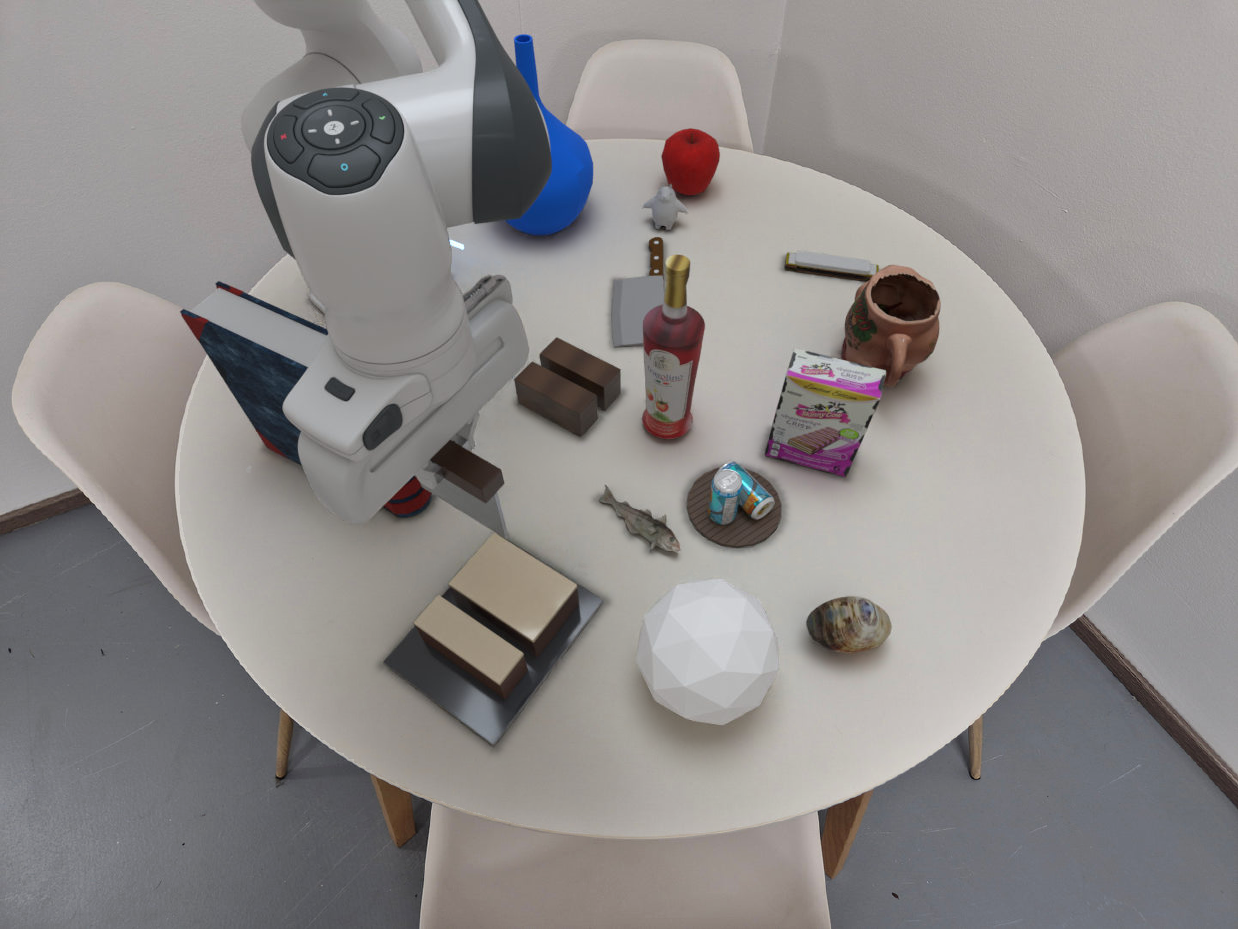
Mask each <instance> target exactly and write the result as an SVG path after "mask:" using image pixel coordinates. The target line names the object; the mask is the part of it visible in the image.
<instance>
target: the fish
mask: <svg viewBox="0 0 1238 929" xmlns="http://www.w3.org/2000/svg"><path fill="white" fill-rule="evenodd" d="M604 487H605V488H604V494H602V496H600V497H599V498H598V502H600V503H603V504H610V505H612V506H613V507H614V509H615V511H616V516H617V517H620V518H621V517H623V518H624V519H625V520H624V523H625V524H626V527H627V529H628V530H629V531H628V532H629V533H630V534H640V536H642V537H644V538H645V539H646V540H648V541H649V542H651V546H650V551H652V550H653V549H654V548H655V547H656V546H657V547H658V548H661V549H662V550H664V551H666V552H674V553H679V552H682V549H681V544H680V542H679V540H678V538H677V537H676V534H675V533H674V532H673V530H672V529H671V528H669V527H668V526H667V522H668V521H667V520H668V518H667V515H666V514H664V515H662V516H660V517H657V518H654V516H653V514H652V512H651V510H650V509H651V508H649V507H648V508H649V509H648V508H645V509H644V510H643V509H638V508H634V507H632V506H631V504H629V502H627V500H624V501H617V499H616V498H615V496H614V494H613V492H612V491H611V490H610V488H609V487H608V486H607V485H606V484H604Z"/></svg>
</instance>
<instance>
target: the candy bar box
mask: <svg viewBox="0 0 1238 929" xmlns="http://www.w3.org/2000/svg"><path fill="white" fill-rule="evenodd" d="M885 376H886V370H882V369H878V368H873V367H869V366H865V365H861V364H857V363H853V362H849V361H845V360H842V358H837V357H832V356H828V355H824V354H820V353H817V352H812V351H809V350H806V349H805V350H804V349H800V348H797V347H794V348H793V351H792V354H791V356H790V359H789V364H788V367H787V370H786V373H785V377H784V381H783V384H782V388H781V391H780V394H779V398H778V402H777V406H776V409H775V413H774V416H773V420H772V424H771V427H770V432H769V435H768V438H767V443H766V447H765V450H764V456H765V457H770V458H772V459H777V460H781V461H784V462H788V463H791V464H796V465H799V466H803V467H806V468H811V469H813V470H814V469H815V470H818V471H822V472H825V473H829V474H833V475H837V476H839V477H840V476H841V477H844V478H846V477H847V476H848V474H849V471H850V469H851V467H852V465H853V463H854V460H855V458H856V456H857V453H858V451H859V449H860V447H861V445H862V443H863V439H864V438H865V435H866V433H867V431H868V428H869V426H870V423H871V422H872V419H873V417H874V414H875V413H876V411H877V408H878V406H879V404H880V401H881V397H882V393H883V390H884V386H883V385H884V381H885Z"/></svg>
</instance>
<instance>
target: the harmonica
mask: <svg viewBox="0 0 1238 929" xmlns="http://www.w3.org/2000/svg"><path fill="white" fill-rule="evenodd" d="M879 267H880V266H879V264H876V263H875V264H874V263H872V261H870V260H868V259H864V258H858V257H850V256H842V255H834V254H827V253H821V252H812V251H805V250H798V251H796V253H795V252H786V254H785V261H784V269H785V270H792V271H795V272H799V273H806V274H811V275H812V274H813V275H820V276H828V277H834V278H840V279H848V280H856V281H863V282H864V281H865V282H866V281H869V280H870V278H871V277H872V276H873V275H874V274H875V273H877V272H879V271H880V270H879Z"/></svg>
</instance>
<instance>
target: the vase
mask: <svg viewBox="0 0 1238 929" xmlns="http://www.w3.org/2000/svg"><path fill="white" fill-rule="evenodd" d="M513 45H514V57H515V58H514V59H515V65H516V67H517V68H518V70H519V71H520V73H521V74H522V76H523V77H524V79H525V81H526V82H527V84H528V86H529V88H530V90H531V92H532V94H533V96H534V98H535V100H536V101H537V103H538V105H539V108H540V110H541V112H542V114H543V117H544V120H545V123H546V126H547V130H548V135H549V140H550V149H551V159H552V172H551V175H550V177H549V179H548V181H547V183H546V185H545V187H544V188H543V190H542V191H541V193H540V195H539V196H538V198H537V199H536V200H535V202H534V203H533V204H532V205H531V207H530V208H529V209H528V210H527V211H526V212H525V213H524V214H523V215H522V216H521V218H519V219H512V220H504V221H505V223H507V224H508V225H509V226H511V227H512V228H514V229H515V230H517V231H520V232H522V233H524V234H527V235H532V236H538V237H539V236H542V237H543V236H550V235H554V234H556V233H559V232H561V231H562V230H564V229H565V228H567V227H569V226H570V225H571V224H572V223H573V222H574V221H576V220H577V218H578V217H579V215H580V214H581V213H582V211H583V210H584V208H585V206H586V204H587V202H588V198H589V195H590V192H591V190H592V187H593V184H594V161H593V157H592V154H591V150H590V148H589V145H588V142H586V140H585V139H584V138H583V136H581V135H580V134H578V133H577V132H576V131H574V130H573V129H572V128H570V127H569V126H568V125H566V124H565V123H563V122H562V121H561V120H560V119H559V118H557V117H556V116H555V115H554V114H553V113H552V112H551V111H550V110H549V109H547V107H546V106H545V104H544V103H543V102H542V98H541V97H540V90H539V81H538V70H537V64H536V63H537V62H536V55H535V48H534V39H533V36H532V35H530V34H527V33H521V34H518V35H516V36H514V37H513Z"/></svg>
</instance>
